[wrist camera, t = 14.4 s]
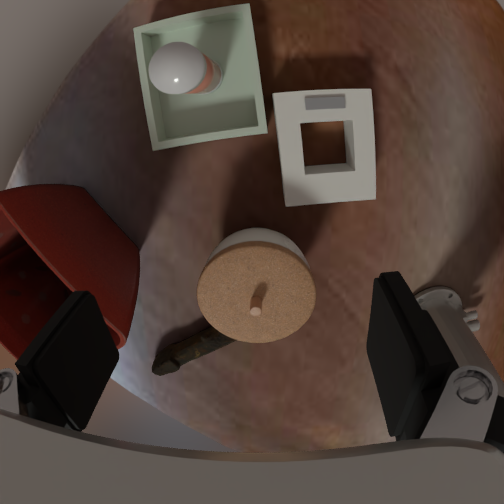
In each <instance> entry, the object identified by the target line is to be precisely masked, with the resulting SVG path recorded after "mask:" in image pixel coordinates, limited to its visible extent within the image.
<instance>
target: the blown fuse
mask: <svg viewBox="0 0 504 504" xmlns="http://www.w3.org/2000/svg"><path fill="white" fill-rule="evenodd" d="M149 77H150V80H151V82H152V83H153V85H154V86H155V87H156V88H157V89H158V90H160V91H162V92H164V93H168V94H210V93H212V92H214V91H216V90H217V89H218V88H219V87H220V85H221V84H222V81H223V70H222V68H221V66H220V65H219V64H218V63H217V62H215V61H214V60H212V59H210V58H209V57H207V56H206V55H205V54H203V53H202V52H200V51H199V50H198V49H197V48H195V47H194V46H192V45H191V44H188V43H186V42H171V43H168V44H166V45H164V46H162V47H161V48H159V49H158V50H157V51H156V52H155V54H154V55H153V56H152V58H151V60H150V63H149Z"/></svg>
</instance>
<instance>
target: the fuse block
mask: <svg viewBox="0 0 504 504" xmlns="http://www.w3.org/2000/svg"><path fill="white" fill-rule="evenodd" d="M272 99H273V107H274V115H275V123H276V131H277V140H278V148H279V157H280V166H281V176H282V185H283V195H284V200H285V206H286V207H289V206H300V205H310V204H321V203H333V202H345V201H358V200H371V199H376V164H375V136H374V118H373V104H372V92H371V89H327V90H307V91H293V92H281V93H272ZM326 121H344V134H345V149H346V163H340V164H326V165H313V166H304V159H303V148H302V138H301V128H300V123H310V122H326Z"/></svg>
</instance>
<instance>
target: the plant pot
mask: <svg viewBox="0 0 504 504" xmlns="http://www.w3.org/2000/svg"><path fill="white" fill-rule="evenodd" d="M139 277H140V255H139V249H138V248H137V246H136V245H135V244H134V243H133V242H132V241H131V240H130V239H129V238H128V237H127V236H126V235H125V233H124V232H123V231H122V230H121V229H120V228H119V227H118V226H117V225H116V224H115V223H114V222H113V220H112V219H111V218H110V217H109V216H108V215H107V214H106V213H105V212H104V210H103V209H102V208H101V207H100V206H99V205H98V204H97V203H96V202H95V200H94V199H93V198H92V197H91V196H90V195H89V194H88V192H87V191H86V190H85V189H84V188H82V187H79V186H74V185H64V184H37V185H28V186H21V187H16V188H11V189H7V190H3V191H0V343H1V344H2V345H3V346H4V347H5V348H6V349H7V350H8V351H9V352H10V353H11V354H12V355H13V356H14V357H15V358H16V359H17V360H18V359H19V357H20V356H21V355H22V353H23V352H24V351H25V349H26V348H27V347H28V346H29V344H30V343H31V342H32V340H33V339H34V338H35V337H36V335H37V334H38V333H39V332H40V330H41V329H42V328H43V327H44V325H45V324H46V323H47V322H48V321H49V319H50V318H51V317H52V316H53V315H54V313H55V312H56V311H57V310H58V309H59V307H60V306H61V305H62V304H63V303H64V302H65V300H66V299H67V298H68V297H69V296H70V295H71V293H72V292H74V291H89V292H90V293H91V294H92V295H94V296H95V298H96V300H97V303H98V305H99V308H100V310H101V313H102V315H103V318H104V320H105V322H106V325H107V327H108V329H109V331H110V334H111V336H112V338H113V340H114V343H115V345H116V347H117V349H120V348H121V347H123V346H124V345H125V343H126V341H127V338H128V335H129V331H130V327H131V323H132V319H133V315H134V310H135V305H136V300H137V294H138V287H139Z"/></svg>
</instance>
